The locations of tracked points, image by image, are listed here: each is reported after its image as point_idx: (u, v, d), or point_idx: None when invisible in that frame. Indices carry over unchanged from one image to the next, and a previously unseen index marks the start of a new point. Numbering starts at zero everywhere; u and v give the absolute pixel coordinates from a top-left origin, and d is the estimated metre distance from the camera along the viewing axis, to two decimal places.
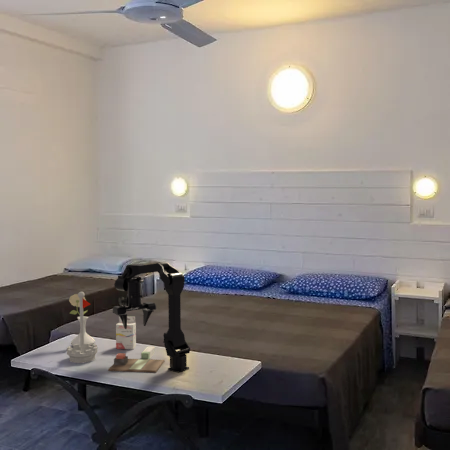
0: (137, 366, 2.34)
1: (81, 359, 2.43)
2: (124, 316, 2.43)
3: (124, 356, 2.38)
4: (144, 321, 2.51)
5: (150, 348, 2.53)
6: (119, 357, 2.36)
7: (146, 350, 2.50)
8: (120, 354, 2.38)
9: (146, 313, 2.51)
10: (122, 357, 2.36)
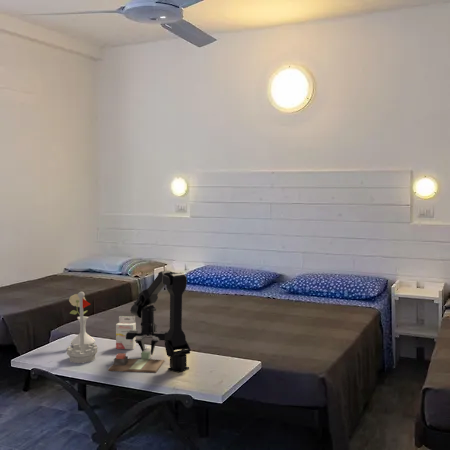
0: (137, 366, 2.34)
1: (81, 359, 2.43)
2: (138, 342, 2.48)
3: (124, 356, 2.38)
4: None
5: (150, 348, 2.53)
6: (119, 357, 2.36)
7: (146, 350, 2.50)
8: (120, 354, 2.38)
9: None
10: (122, 357, 2.36)
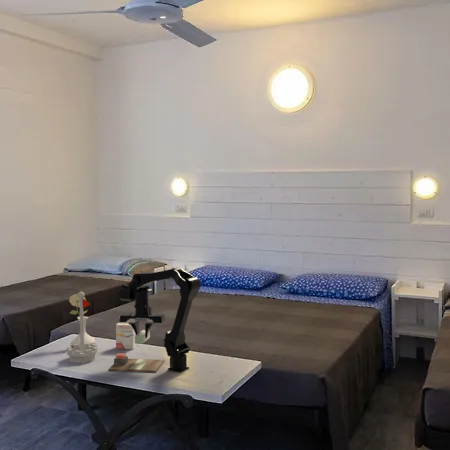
0: (137, 366, 2.34)
1: (81, 359, 2.43)
2: (132, 325, 2.39)
3: (124, 356, 2.38)
4: None
5: None
6: (119, 357, 2.36)
7: (140, 333, 2.40)
8: (120, 354, 2.38)
9: None
10: (122, 357, 2.36)
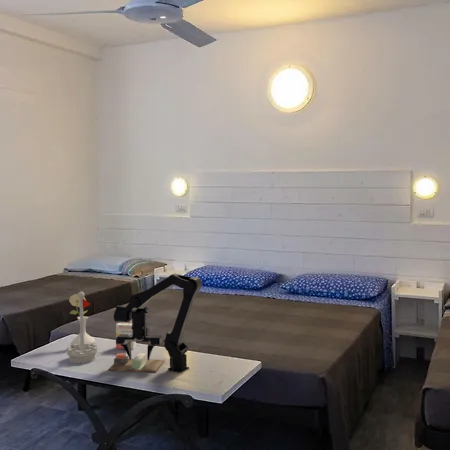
0: None
1: (81, 359, 2.43)
2: (124, 346, 2.35)
3: (124, 356, 2.38)
4: None
5: (142, 355, 2.39)
6: (119, 357, 2.36)
7: (137, 357, 2.36)
8: (120, 354, 2.38)
9: None
10: (122, 357, 2.36)
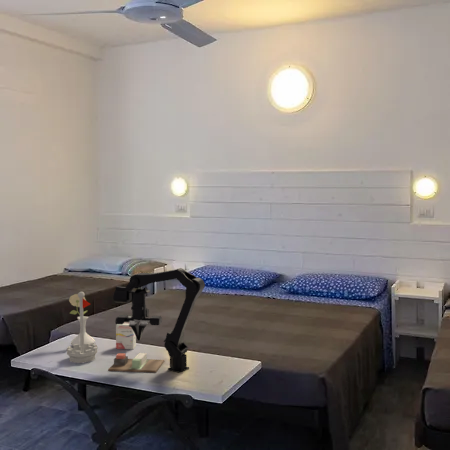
0: None
1: (81, 359, 2.43)
2: (132, 327, 2.34)
3: (124, 356, 2.38)
4: None
5: (142, 355, 2.39)
6: (119, 357, 2.36)
7: (137, 357, 2.36)
8: (120, 354, 2.38)
9: None
10: (122, 357, 2.36)
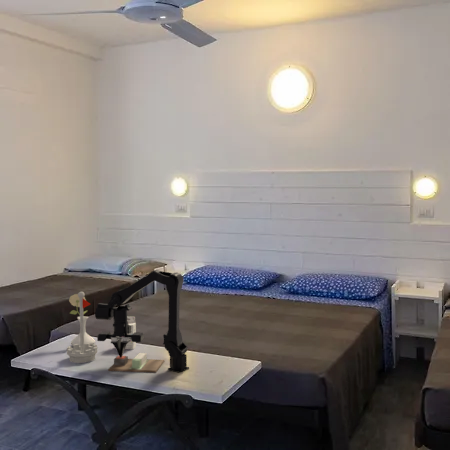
0: None
1: (81, 359, 2.43)
2: (114, 344, 2.35)
3: (124, 358, 2.38)
4: None
5: (142, 355, 2.39)
6: None
7: (137, 357, 2.36)
8: None
9: None
10: None
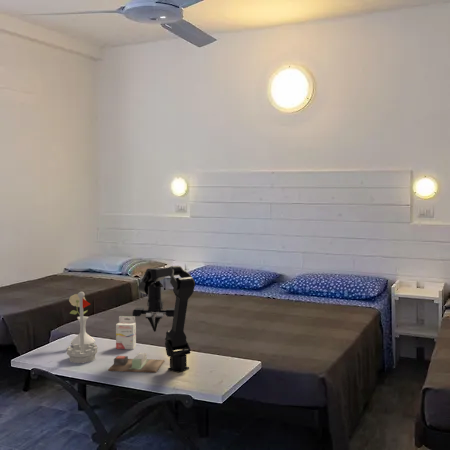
0: None
1: (81, 359, 2.43)
2: (149, 319, 2.45)
3: None
4: None
5: (142, 355, 2.39)
6: None
7: (137, 357, 2.36)
8: (120, 357, 2.38)
9: None
10: None
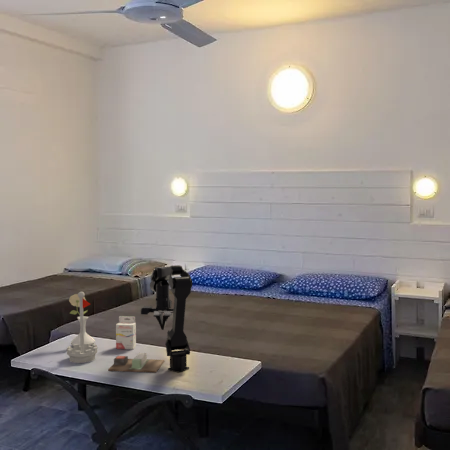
0: None
1: (81, 359, 2.43)
2: (157, 317, 2.48)
3: None
4: None
5: (142, 355, 2.39)
6: None
7: (137, 357, 2.36)
8: (120, 357, 2.38)
9: None
10: None
